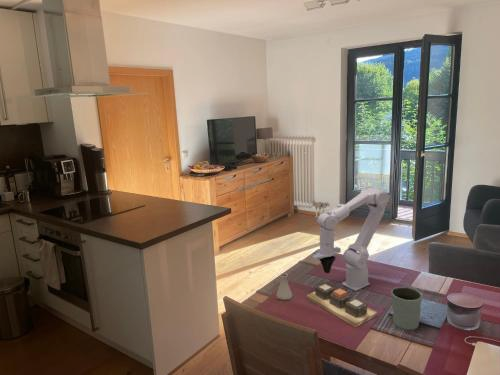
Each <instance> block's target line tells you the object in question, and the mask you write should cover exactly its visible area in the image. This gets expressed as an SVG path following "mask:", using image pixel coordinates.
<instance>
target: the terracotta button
mask: <svg viewBox="0 0 500 375" xmlns="http://www.w3.org/2000/svg"><path fill="white" fill-rule="evenodd" d="M347 294H348V293H347V291H346V290H344V289H342V288H338V289H337V288H336V289H335V291H333V295H334V296H335V297H337V298H339V299H342V298H344V297H346V296H347Z"/></svg>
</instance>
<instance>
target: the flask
mask: <svg viewBox="0 0 500 375" xmlns="http://www.w3.org/2000/svg"><path fill="white" fill-rule="evenodd" d="M288 277H289V275H288V273H285V272H283V273H280V283H279V286H278V289H277V291H276V295H275V296H276V299H277V300H281V301H290V300H292V298H294V296H293V293H292V291H291V288H290V285H289V282H288Z"/></svg>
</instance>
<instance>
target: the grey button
mask: <svg viewBox="0 0 500 375" xmlns="http://www.w3.org/2000/svg"><path fill="white" fill-rule="evenodd" d="M354 299H355V300H353V301H351V302H349V304H350V305H352V306H354V307H356V308H358V307H360V306H362V305H363V303H362V302H360V301H358V300H356V298H354Z"/></svg>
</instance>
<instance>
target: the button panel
mask: <svg viewBox="0 0 500 375" xmlns="http://www.w3.org/2000/svg"><path fill="white" fill-rule="evenodd" d="M324 284H326V285H328V286H330V287H332V288H331V289H329V290H327V291H324V290H322V289H320V288H319V286H322V285H324ZM314 288H315V289H314V290H315V291H313V292H310V293H308V294H306V295H305V298H306V300H308V301H310V302H312V303H314V304H315V305H317V306H319V307H320V308H322V309H323V310H325V311H327V312H329V313H330V314H332V315H334V316H335V317H336V318H339V319H341V320H342V321H344V322H345V323H347V324H349V325H351V326H352V327H354V328H358V327H359V326H361V325H363V324H365V323H366V322H368V321H371V320H372V319H374V318H376V317H377V316H378V312H377V311H376V310H374V309H372V308H370V307H368V303H367V302H365V301H362V300H361V299H358V298H352V297H351V295H350V294H349V293H347V296H346V297H344V298H342V299H339V298H337V297H335V296H334V295H333V291H335V290H336V287H335V286H333V285H331V284H330V283H327V282H322V283H321V284H318V285H316V286H315V287H314ZM355 299H356V300H358V301H360V302H362V303H363V305H362V306H360V307H358V308H356V307H354V306H352V305H350V304H349V302H351V301H353V300H355Z"/></svg>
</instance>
